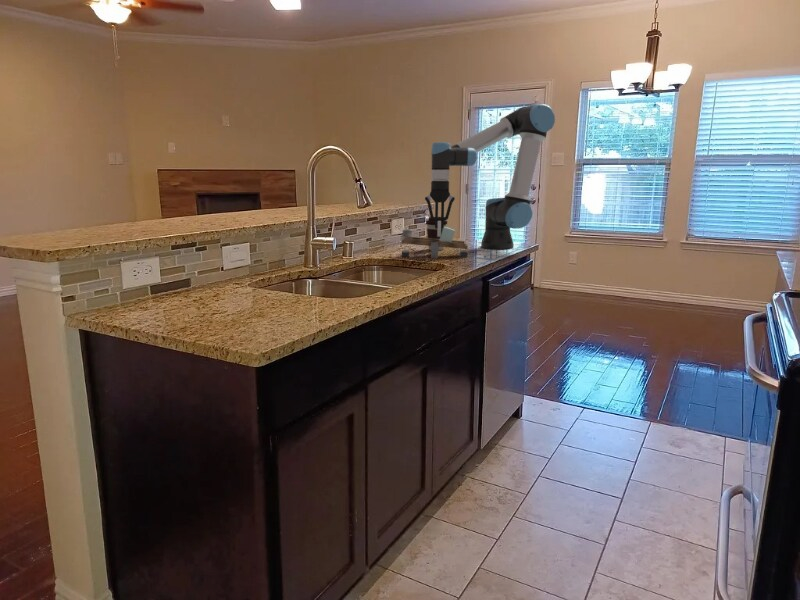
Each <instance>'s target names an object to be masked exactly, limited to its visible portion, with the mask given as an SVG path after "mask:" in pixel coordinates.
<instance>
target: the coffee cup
mask: <svg viewBox="0 0 800 600" xmlns="http://www.w3.org/2000/svg"><path fill="white" fill-rule="evenodd" d="M438 221H441V216H438ZM425 225H426V226H427V227H426V234H427V237H426V238H431V239H440V237H437V232H438V229H435V221H434V220H432V219H431V217H429V218H428V220H425ZM447 225H448V220H445V221H444V227H447ZM442 230H443V229H441V233H442ZM443 249H444V250H445V247H438V251H443ZM428 250H430V251H431V246H428Z"/></svg>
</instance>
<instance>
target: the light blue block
mask: <svg viewBox="0 0 800 600" xmlns="http://www.w3.org/2000/svg"><path fill="white" fill-rule="evenodd" d="M455 232H456V230H455V229H453V228H451V227H448V226H446V227H444V228H443V230H442V233H441V237H440V241H442V242H452V240H454V239H453V238H454V235H455Z"/></svg>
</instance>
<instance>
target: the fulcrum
mask: <svg viewBox="0 0 800 600" xmlns="http://www.w3.org/2000/svg"><path fill="white" fill-rule="evenodd" d="M401 258H410V250H409V249H403V250H402V251H401ZM459 258H468V249H460V250H459ZM430 259H439V250H438V242H431V250H430Z"/></svg>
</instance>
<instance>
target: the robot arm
mask: <svg viewBox="0 0 800 600" xmlns="http://www.w3.org/2000/svg"><path fill="white" fill-rule="evenodd" d="M555 122H556V116H555V112H554V111H553V108H552V107H550V106H549V104H546V103H537V104H533V105H527V106H522V107H519V108H517V109H516V110H514V111H512V112H511V113H509V114H507V115H505V116H502V118H500V120H499V121H498V122H497V123H495V124H494V123H493V124H492V125H491V126H489V127H487V128H485V129H483V130H481V131H479V132H477V133H475V134H474V135H471V136H469V137H467V138H464V139H463V140H461V141H460V142H457V143H456V144H454V145H452V146H451V143H450V142H446V141H444V142H443V141H437V142H435V141H434V142H433V143H432V145H431V171H430V173H431V175H430V176H431V177H430V178H431V183H430V185H431V187H430V192H429V195H427V196H425V197H424V200H425V201H426V204H427V207H428V211H429V216H430V217H431V219H432V220H434V221H435V229H438V232H437V237H441V229H443V228H444V221H445V220H446V221H448V219H449V218H450V217H449V216H450V212H451V209H452V207H453V206H452V205H453V202H454V201H455V200H456V198H455V196H452V195H451V193H450V181H449V180H450V167H470V166H471V167H472V166H474V165H475V164H476V162H477V154H478V152H480V151H482V150H484V149H486V148H489V147H490V146H493V145H494V144H496V143H499V142H500V141H502V140H504V139H505V138H508V139H510V138H513V137H514V136H518V135H519V136H520V138H521V141H520V144H519V148H518V149H519V150H518V154H517V158H516V162H515V166H514V171H513V175H512V179H511V184H510V188H509V191H508V193H506V194H505V195H504V197H495V198H493V197H492V198H488V199H487V200H486V202H485V226H484V227H485V228H484V233H483V237H482V240H481V242H480V246H481V247H480V248H483V249H490V250H510V249H512V248H514V241H513V236H512V234H511V229H523V228H525V227H527V225H528V224H530V223H531V222H532V221H531V220H532V218H533V209H532V206H531V198H530V197H529V195H530V192H531V191H530V190H531V186H532V183H533V178H534V173H535V169H536V165H537V162H538V161H537V160H538V157H539V153H540V150H541V149H540V148H541V145H542V142H543V141H545V140H546V138H547V134H548V132H549V131H550V130H552V128H554V125H555ZM431 199H432V200H433V202H435V204H434V205H435V206H434V207H435V209H434V210H435V211H434V213H433V208H432V204H431ZM447 200H448V201H449V202H448V205H447V208H446V213H445V202H447ZM439 203H441V205H440V217H441V221H438V217H439ZM430 217H429V218H430Z"/></svg>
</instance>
